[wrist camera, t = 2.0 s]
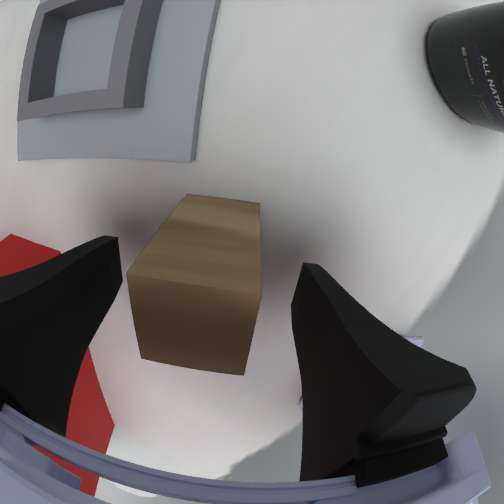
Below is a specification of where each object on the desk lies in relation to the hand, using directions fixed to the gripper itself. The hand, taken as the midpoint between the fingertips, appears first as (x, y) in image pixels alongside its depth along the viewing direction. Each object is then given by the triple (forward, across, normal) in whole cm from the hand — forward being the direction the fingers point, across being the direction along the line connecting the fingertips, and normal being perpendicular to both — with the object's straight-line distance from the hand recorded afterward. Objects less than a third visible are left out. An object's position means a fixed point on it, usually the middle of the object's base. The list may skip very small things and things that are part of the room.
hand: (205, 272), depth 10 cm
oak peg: (+4, 0, 0) cm, 4 cm away
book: (+4, +15, +16) cm, 22 cm away
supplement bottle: (+4, -12, -12) cm, 18 cm away
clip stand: (+4, +7, -9) cm, 12 cm away
